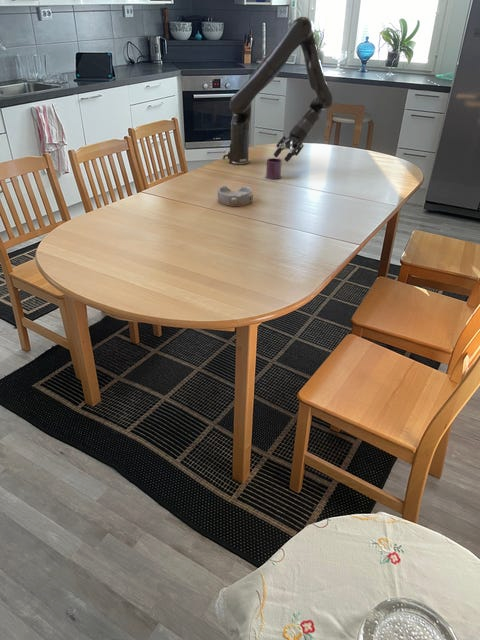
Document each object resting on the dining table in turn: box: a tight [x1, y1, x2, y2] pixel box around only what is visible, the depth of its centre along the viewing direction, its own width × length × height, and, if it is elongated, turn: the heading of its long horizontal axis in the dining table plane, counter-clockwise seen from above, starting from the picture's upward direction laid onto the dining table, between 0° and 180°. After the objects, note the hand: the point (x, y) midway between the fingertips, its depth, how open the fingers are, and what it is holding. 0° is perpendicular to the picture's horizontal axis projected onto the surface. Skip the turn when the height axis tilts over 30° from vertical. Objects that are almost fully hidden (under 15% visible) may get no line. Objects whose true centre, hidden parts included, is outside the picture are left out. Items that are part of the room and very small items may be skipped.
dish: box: [216, 185, 254, 207], centre depth 203 cm, size 14×14×5 cm
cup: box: [265, 157, 283, 180], centre depth 232 cm, size 7×7×8 cm
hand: (280, 158), depth 231 cm, fingers open, 8 cm apart
